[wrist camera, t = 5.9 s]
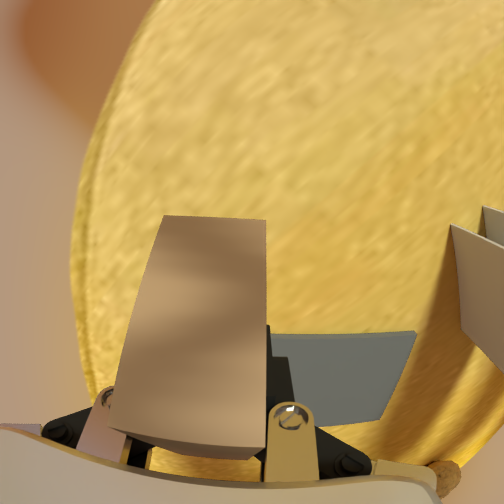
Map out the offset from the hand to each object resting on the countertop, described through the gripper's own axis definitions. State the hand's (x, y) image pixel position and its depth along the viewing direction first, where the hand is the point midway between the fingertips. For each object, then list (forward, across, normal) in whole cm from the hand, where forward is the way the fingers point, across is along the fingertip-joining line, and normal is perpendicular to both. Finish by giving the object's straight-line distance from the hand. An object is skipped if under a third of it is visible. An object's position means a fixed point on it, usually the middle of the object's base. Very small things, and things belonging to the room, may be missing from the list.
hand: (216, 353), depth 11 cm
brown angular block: (+1, 0, -2) cm, 2 cm away
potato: (+14, -42, +47) cm, 65 cm away
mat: (+14, -11, +15) cm, 23 cm away
